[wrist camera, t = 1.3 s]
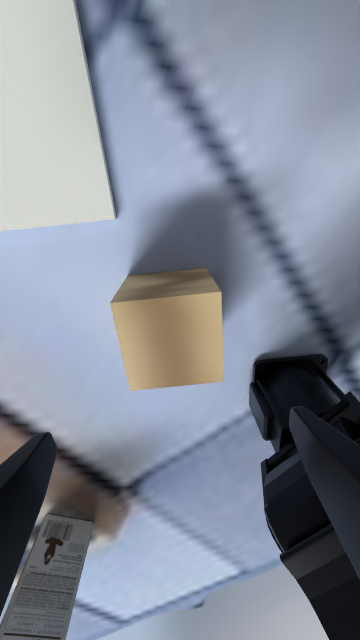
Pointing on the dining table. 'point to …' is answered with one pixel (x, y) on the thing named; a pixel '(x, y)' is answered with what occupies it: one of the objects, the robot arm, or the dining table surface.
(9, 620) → the coffee box
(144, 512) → the dining table surface
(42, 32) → the cream pad
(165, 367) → the wood cube
